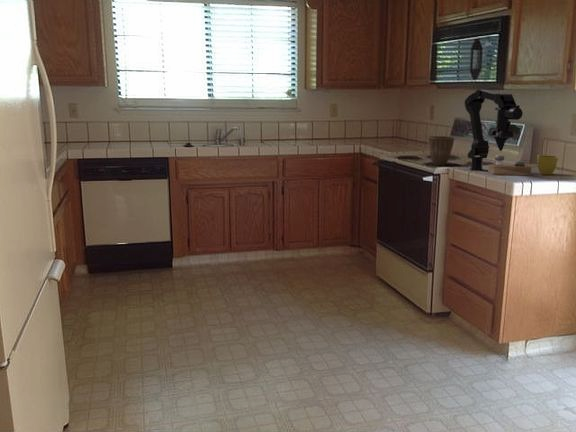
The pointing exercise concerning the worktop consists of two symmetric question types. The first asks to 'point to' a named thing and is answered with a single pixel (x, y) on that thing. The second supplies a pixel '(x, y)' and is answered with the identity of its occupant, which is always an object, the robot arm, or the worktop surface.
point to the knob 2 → (520, 163)
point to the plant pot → (440, 149)
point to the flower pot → (547, 164)
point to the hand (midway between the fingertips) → (500, 150)
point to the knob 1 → (499, 160)
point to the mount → (509, 170)
